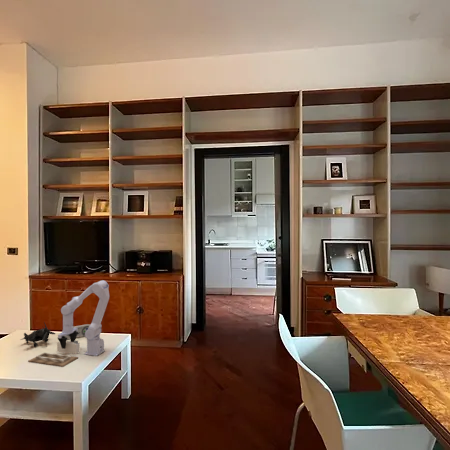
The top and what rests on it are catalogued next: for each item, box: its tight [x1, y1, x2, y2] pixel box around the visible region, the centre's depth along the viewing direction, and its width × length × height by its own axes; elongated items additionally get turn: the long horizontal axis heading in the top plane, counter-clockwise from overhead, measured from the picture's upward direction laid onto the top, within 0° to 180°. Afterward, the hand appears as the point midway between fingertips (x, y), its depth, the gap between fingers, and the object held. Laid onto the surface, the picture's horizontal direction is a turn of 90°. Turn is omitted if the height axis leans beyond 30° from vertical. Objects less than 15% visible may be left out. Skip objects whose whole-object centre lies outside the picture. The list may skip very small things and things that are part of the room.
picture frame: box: [27, 352, 79, 368], centre depth 197 cm, size 24×12×2 cm, turn 73°
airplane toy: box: [20, 321, 56, 348], centre depth 223 cm, size 20×19×15 cm
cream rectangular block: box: [56, 339, 80, 355], centre depth 210 cm, size 14×3×8 cm, turn 73°
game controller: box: [65, 323, 90, 341], centre depth 235 cm, size 20×2×8 cm, turn 123°
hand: (68, 346), depth 210 cm, fingers open, 7 cm apart
